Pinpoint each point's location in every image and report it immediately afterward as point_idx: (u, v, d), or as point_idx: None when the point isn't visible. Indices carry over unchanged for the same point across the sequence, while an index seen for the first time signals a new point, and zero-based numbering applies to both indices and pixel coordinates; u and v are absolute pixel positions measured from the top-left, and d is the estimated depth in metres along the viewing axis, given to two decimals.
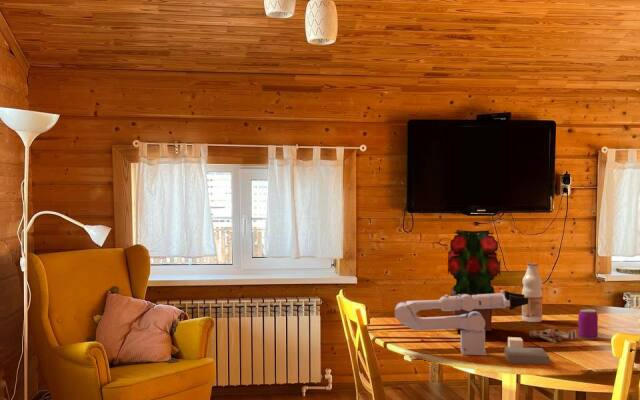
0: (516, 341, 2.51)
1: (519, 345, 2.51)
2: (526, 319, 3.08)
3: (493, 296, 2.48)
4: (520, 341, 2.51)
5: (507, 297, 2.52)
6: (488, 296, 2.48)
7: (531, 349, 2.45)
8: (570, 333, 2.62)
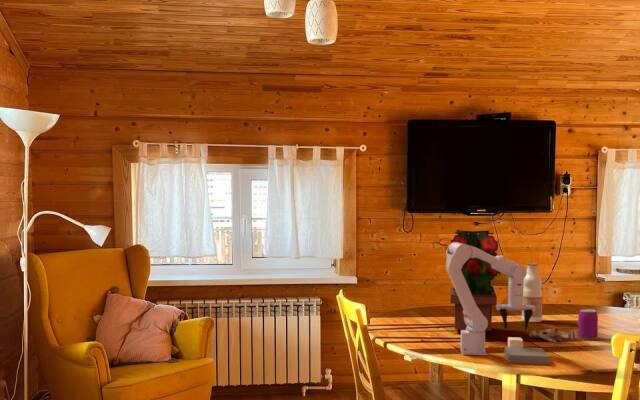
0: (516, 341, 2.51)
1: (519, 345, 2.51)
2: None
3: None
4: (520, 341, 2.51)
5: None
6: None
7: (531, 349, 2.45)
8: (570, 333, 2.62)
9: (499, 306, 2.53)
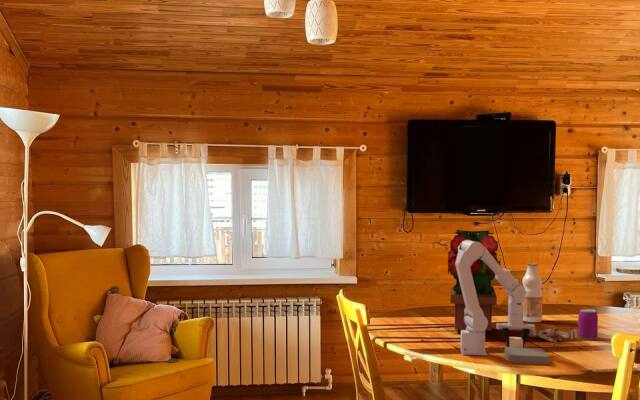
0: (516, 341, 2.51)
1: (519, 345, 2.51)
2: (526, 319, 3.08)
3: None
4: (520, 341, 2.51)
5: None
6: None
7: (531, 349, 2.45)
8: (570, 333, 2.62)
9: (499, 325, 2.53)
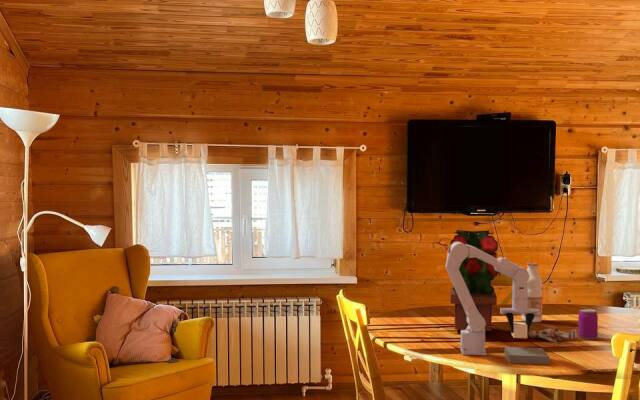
0: (520, 326, 2.47)
1: (523, 330, 2.47)
2: None
3: None
4: (524, 326, 2.47)
5: None
6: (526, 296, 2.47)
7: (531, 349, 2.45)
8: (570, 333, 2.62)
9: (503, 310, 2.49)
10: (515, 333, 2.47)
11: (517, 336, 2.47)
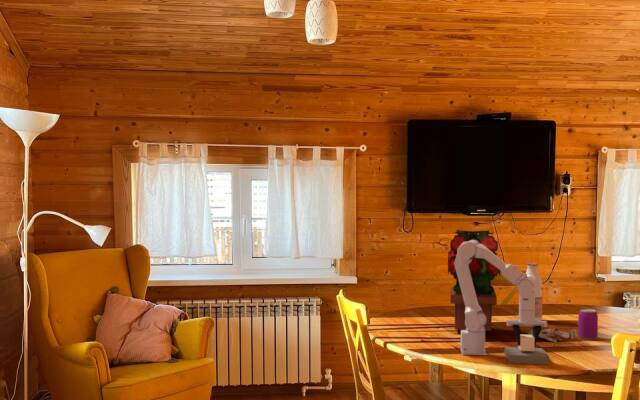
0: (527, 338, 2.39)
1: (530, 343, 2.39)
2: None
3: None
4: (531, 339, 2.39)
5: None
6: (531, 308, 2.39)
7: None
8: (570, 332, 2.63)
9: (509, 322, 2.41)
10: (522, 346, 2.40)
11: (524, 349, 2.40)
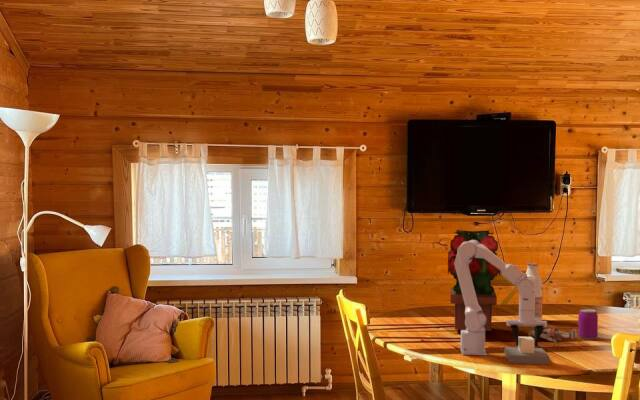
0: (527, 340, 2.39)
1: (530, 345, 2.39)
2: None
3: None
4: (531, 341, 2.39)
5: None
6: (531, 308, 2.39)
7: None
8: (570, 332, 2.63)
9: (509, 322, 2.41)
10: (522, 348, 2.40)
11: (524, 351, 2.40)
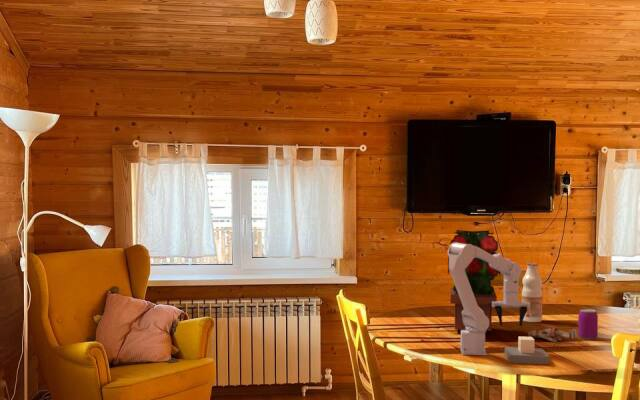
0: (527, 340, 2.39)
1: (530, 345, 2.39)
2: (526, 319, 3.08)
3: None
4: (531, 341, 2.39)
5: None
6: None
7: None
8: (571, 332, 2.63)
9: (494, 303, 2.57)
10: (522, 348, 2.40)
11: (524, 351, 2.40)
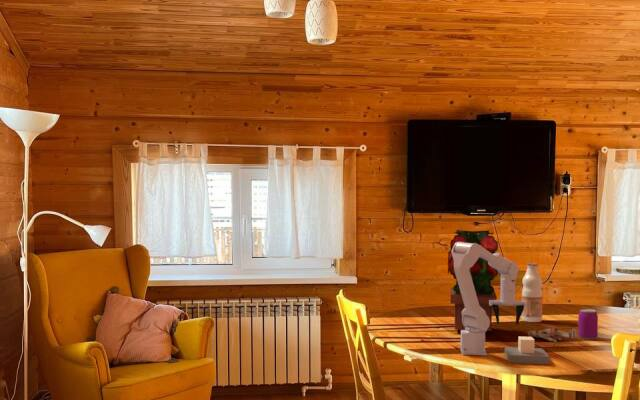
0: (527, 340, 2.39)
1: (530, 345, 2.39)
2: (526, 319, 3.08)
3: None
4: (531, 341, 2.39)
5: None
6: None
7: None
8: (571, 332, 2.63)
9: (491, 302, 2.60)
10: (522, 348, 2.40)
11: (524, 351, 2.40)
